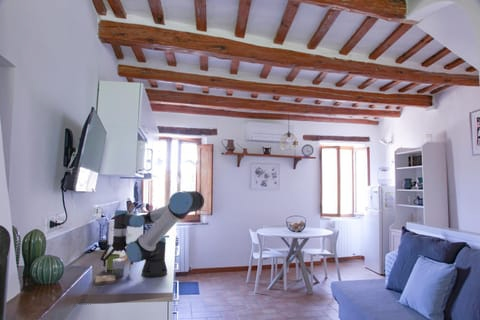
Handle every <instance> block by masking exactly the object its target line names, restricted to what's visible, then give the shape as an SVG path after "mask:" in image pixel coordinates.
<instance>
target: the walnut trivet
mask: <svg viewBox="0 0 480 320" xmlns="http://www.w3.org/2000/svg"><path fill="white" fill-rule="evenodd" d="M116 283H117V277H116V275H112V274H109V275H99V276H97V275H96V276H94V286H97V285H98V286H99V285H106V284H107V285H108V284H116Z"/></svg>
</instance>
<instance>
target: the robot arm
mask: <svg viewBox="0 0 480 320" xmlns="http://www.w3.org/2000/svg"><path fill="white" fill-rule="evenodd" d="M168 201H169V202H168V204H167V205H164V206H161V207H158V208H155V209H153V210H150V211H148V212H141V213H129V211H128V209H124V208H123V209H122V208H121V209H120V208H119V209H115V211H114V216H113V217H114V219H113V236H112V243H109V242H108V243H107V245H106V248H105V250H104V252H103V253H102V255H101V257H100V261H103V265H102V266H103V267H104V273H107V271H108V270H107V259H108V258H109V257H110V255H111V254H114V252H115V251H116V252H123V251H124V253H125V254H126V257H127V259H128V263H129V264H128V270H129V271H130V272H131V269H132V265H133V264H134V263H140V262H143V261H144V264H143V267H142V269H141V276H143V277H148V278H160V277H164V276H166V275H167V274H168V268H167V263H166V261H165V259H166V244H167V242H166V241H167V240H166V237H165V235H166V234H167V233H168V232H169V231H170V230H171V229H173V227H174V226H175V224H177V222H179V221H180V220H184V219H185V218H186V217H187V216H188V215H189V214H190V213H193V212H194V213H195V212H198V211H200V210H201V209H202V208H203V207H204V205H205V197H204V196H203V194H202V193H201V192H199V191H197V190H191V191H190V190H188V191H186V190H180V191H176V192H175V193H173V194H172V195H171V196H170V198H169V200H168ZM147 225H152V226H151V227H149V229H148V230H147V231H146V233H145V234H143V233H142V234H140V235H139V236H138V237H137V238H136V239H135V240H134V241H131V242H130V241H129V242H127V234H128V232H127V231H128V227H130V228H135V229H136V228H142V226H147ZM111 247H112V249H111V250H110V251H109V249H110V248H111ZM108 251H109V252H108ZM107 254H108V255H107ZM105 255H107V256H106V257H105Z"/></svg>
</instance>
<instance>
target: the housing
mask: <svg viewBox="0 0 480 320" xmlns="http://www.w3.org/2000/svg"><path fill="white" fill-rule="evenodd" d="M124 258H125V257H119V258H117V259H113V269H112V270H111V271H112V272H111V273H112V274H111V275H116V278H117V277H118V278H119V277H124V271H125V259H124Z"/></svg>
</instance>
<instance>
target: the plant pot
mask: <svg viewBox="0 0 480 320" xmlns="http://www.w3.org/2000/svg"><path fill="white" fill-rule="evenodd" d="M108 254H109V253H106V255H105V256H104V258H105V257H106V256H107V255H108ZM120 256H121V254H120V253H112V254H111V255H110V257H109V258H108V259H107V271H112V269H113V259H117V258H120Z"/></svg>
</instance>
